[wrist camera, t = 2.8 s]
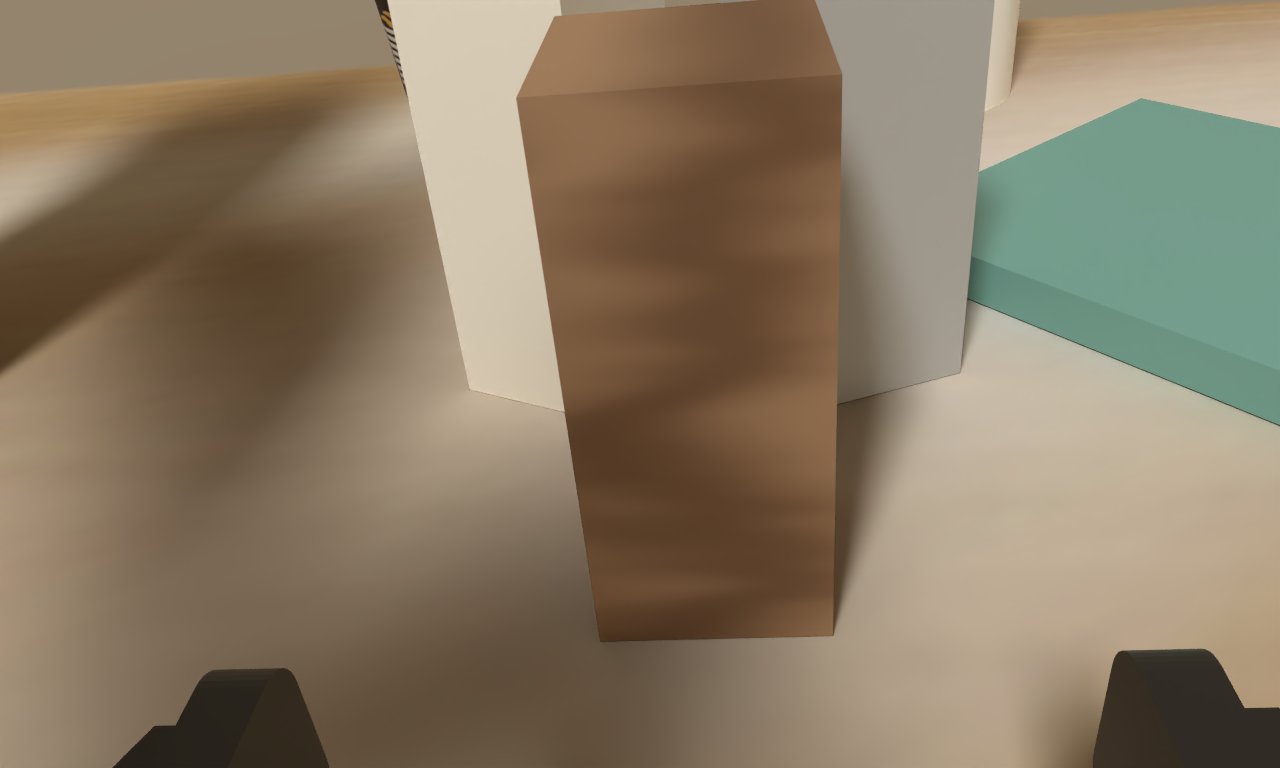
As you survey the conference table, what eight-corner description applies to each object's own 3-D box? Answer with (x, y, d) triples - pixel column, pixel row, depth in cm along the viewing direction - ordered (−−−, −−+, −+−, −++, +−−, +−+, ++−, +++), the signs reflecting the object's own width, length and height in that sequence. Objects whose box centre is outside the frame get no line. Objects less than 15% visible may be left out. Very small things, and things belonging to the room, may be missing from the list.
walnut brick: (600, 641, 23) (516, 97, 16) (616, 495, 27) (554, 16, 20) (832, 635, 22) (842, 74, 16) (812, 487, 26) (813, -4, 20)
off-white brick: (469, 389, 32) (382, -25, 25) (556, 312, 35) (498, -67, 29) (612, 423, 30) (557, -20, 23) (688, 337, 33) (659, -67, 27)
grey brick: (800, 413, 29) (798, -41, 23) (735, 331, 33) (716, -74, 27) (960, 372, 30) (1001, -73, 24) (877, 297, 34) (893, -100, 28)
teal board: (872, 259, 36) (873, 219, 36) (1135, 133, 44) (1141, 98, 43) (1371, 462, 25) (1390, 411, 25) (1609, 247, 33) (1629, 202, 32)
